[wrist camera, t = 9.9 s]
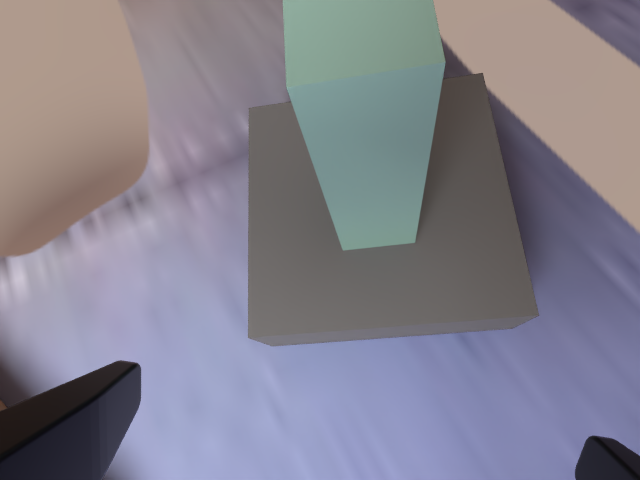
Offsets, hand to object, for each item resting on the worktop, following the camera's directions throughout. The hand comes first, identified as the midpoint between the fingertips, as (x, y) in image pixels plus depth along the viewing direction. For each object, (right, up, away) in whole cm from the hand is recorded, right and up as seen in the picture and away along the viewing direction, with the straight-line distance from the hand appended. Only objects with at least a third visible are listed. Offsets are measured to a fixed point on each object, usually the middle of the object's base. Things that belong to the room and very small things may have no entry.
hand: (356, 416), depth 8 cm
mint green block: (+2, +6, +11) cm, 13 cm away
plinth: (+2, +4, +15) cm, 16 cm away
